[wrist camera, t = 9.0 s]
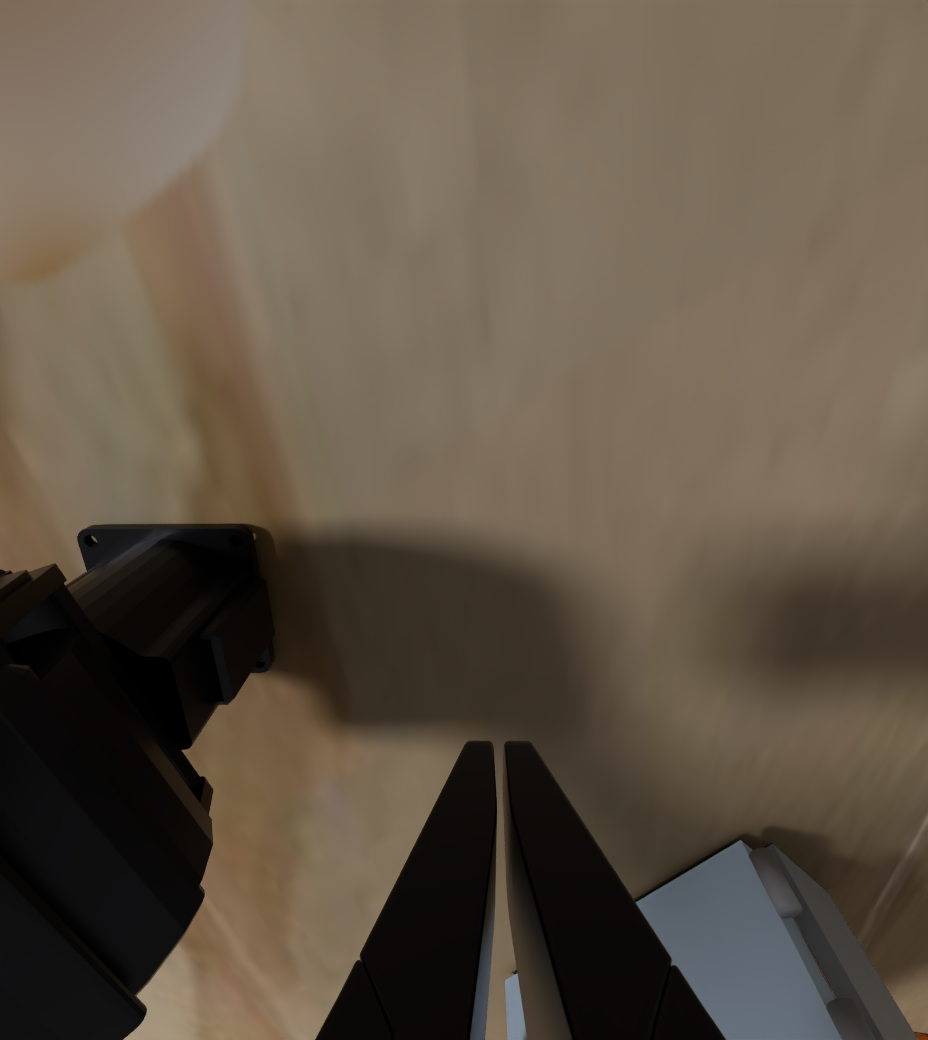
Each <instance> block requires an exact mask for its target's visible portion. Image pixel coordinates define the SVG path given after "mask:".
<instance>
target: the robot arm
mask: <svg viewBox="0 0 928 1040" xmlns="http://www.w3.org/2000/svg"><path fill="white" fill-rule="evenodd" d="M234 535H238V536H240V537H241V538H242V541H243V543H239V542H237V541H236V540H235V539H234ZM91 536H93V537H95V538H96V539H97V541H98V543H96V542H95V541H94V540H93V539H92V537H91ZM77 539H78V544H79V547H80V550H81V553H82V557H83V560H84V563H85V566H86V570H87V572H85V573H84V574H82V575H81V576H79V577H78V578H76V579H75V580H73V581H72V582H70V583H68V584H67V585H65V584H64V582H66V580H67V579H66V578H65V576H64V575H63V574H62V572H61V571H60V569H59V568H58V566H57V565H56V564H55V563H54V564H51V565H48V566H45V567H42V568H39V569H36V570H33V571H30V572H28V571H27V570H24V571H20V572H16V573H12V572H11V570H10V571H7V572H6V571H3V570H1V569H0V1040H123V1039H124V1038H125V1037H127V1036H128V1035H129V1034H130V1033H131V1032H133V1031H134V1030H135V1029H136V1028H137V1027H138V1026H139V1025H140V1024H141V1022H142V1021H143V1020H144V1017H145V1015H146V1012H147V1008H146V1006H145V1005H144V1004H143V1003H142V1002H141V1001H140V1000H139V999H138V998H137V995H138V993H139V992H140V991H141V990H142V989H143V988H144V987H145V986H146V985H147V984H148V983H149V982H150V980H151V979H152V978H153V976H154V975H155V974H156V972H157V971H158V970H159V968H160V967H161V966H162V964H163V963H164V962H165V960H166V959H167V958H168V956H169V955H170V954H171V952H172V951H173V950H174V948H175V947H176V946H177V944H178V943H179V942H180V940H181V939H182V938H183V936H184V935H185V933H186V931H187V929H188V928H189V926H190V924H191V922H192V921H193V919H194V917H195V915H196V914H197V912H198V910H199V908H200V906H201V904H202V902H203V899H204V896H205V892H204V889H203V888H202V886H201V885H200V883H201V881H202V879H203V875H204V872H205V869H206V865H207V862H208V859H209V856H210V852H211V849H212V846H213V835H212V819H211V818H210V816H209V811H210V806H211V800H212V795H213V788H212V787H211V785H210V784H209V782H208V781H207V779H206V778H205V777H204V776H202V777H200V776H199V775H198V773H197V772H196V770H195V769H194V768H193V766H192V765H191V763H190V762H189V760H188V759H187V758H186V756H185V755H184V753H183V752H182V751H181V750H185V749H189V748H190V747H191V746H192V744H193V743H194V741H195V740H196V738H197V737H198V735H199V734H200V732H201V731H202V729H203V728H204V726H205V725H206V723H207V722H208V720H209V719H210V717H211V716H212V714H213V712H214V711H215V709H216V708H217V706H218V705H228V704H229V703H230V702H231V701H232V700H233V699H234V698H235V697H236V695H237V694H238V692H239V690H240V689H241V687H242V686H243V684H244V682H245V681H246V679H247V678H248V676H249V674H250V673H262V672H266V671H268V670H269V668H270V667H271V665H272V663H273V662H274V653H273V647H272V641H271V639H272V638H273V636H274V634H275V631H274V625H273V619H272V614H271V608H270V602H269V596H268V590H267V584H266V581H265V580H264V579H263V578H262V577H261V576H260V572H259V567H258V561H257V555H256V549H255V544H254V538H253V535H252V532H251V531H250V530H249V529H248V528H247V527H245V526H243V525H92V526H89V527H87V528H85V529H83V530H82V531H81V532H79V534H78V536H77ZM259 658H261V659H263V660H264V662H261V661H259ZM503 809H504V834H505V859H506V883H507V899H508V909H509V918H510V926H511V932H512V939H513V946H514V953H515V960H516V967H517V974H518V980H519V987H520V994H521V1001H522V1008H523V1015H524V1022H525V1028H526V1035H527V1040H726V1038H725V1037H724V1036H723V1034H722V1033H721V1031H720V1030H719V1028H718V1027H717V1025H716V1024H715V1022H714V1021H713V1019H712V1018H711V1017H710V1015H709V1014H708V1012H707V1011H706V1009H705V1008H704V1006H703V1005H702V1003H701V1002H700V1000H699V999H698V997H697V996H696V994H695V993H694V991H693V990H692V988H691V987H690V985H689V983H688V982H687V980H686V979H685V977H684V976H683V974H682V973H681V971H680V970H679V968H678V967H677V966H676V965H672V958H671V956H670V955H669V953H668V952H667V950H666V949H665V947H664V946H663V944H662V942H661V941H660V939H659V938H658V936H657V935H656V933H655V932H654V930H653V929H652V927H651V926H650V924H649V922H648V921H647V919H646V918H645V916H644V915H643V913H642V912H641V910H640V909H639V907H638V906H637V904H636V903H635V901H634V899H633V898H632V896H631V895H630V893H629V892H628V890H627V889H626V887H625V886H624V884H623V883H622V881H621V879H620V878H619V876H618V875H617V873H616V872H615V870H614V869H613V867H612V866H611V864H610V863H609V861H608V859H607V858H606V856H605V855H604V853H603V852H602V850H601V849H600V847H599V846H598V844H597V843H596V841H595V840H594V838H593V836H592V835H591V833H590V832H589V830H588V829H587V827H586V826H585V824H584V823H583V821H582V820H581V818H580V816H579V815H578V813H577V812H576V810H575V809H574V807H573V806H572V804H571V803H570V801H569V800H568V798H567V797H566V795H565V793H564V792H563V790H562V789H561V787H560V786H559V784H558V783H557V781H556V780H555V778H554V777H553V775H552V773H551V772H550V770H549V769H548V767H547V766H546V764H545V763H544V761H543V760H542V758H541V757H540V755H539V754H538V752H537V750H536V749H535V747H534V746H533V745H532V743H530V742H529V741H507V742H505V744H504V751H503ZM496 832H497V797H496V781H495V764H494V747H493V744H492V742H491V741H468V742H467V743H466V744H465V745H464V747H463V749H462V751H461V753H460V755H459V757H458V759H457V761H456V763H455V765H454V767H453V769H452V771H451V773H450V775H449V777H448V779H447V781H446V783H445V785H444V787H443V789H442V791H441V793H440V795H439V797H438V799H437V801H436V803H435V805H434V807H433V809H432V811H431V813H430V815H429V817H428V819H427V821H426V823H425V825H424V827H423V829H422V831H421V833H420V835H419V837H418V839H417V841H416V843H415V845H414V847H413V849H412V851H411V853H410V855H409V857H408V859H407V861H406V863H405V865H404V867H403V869H402V871H401V873H400V875H399V877H398V879H397V881H396V883H395V885H394V887H393V889H392V891H391V893H390V895H389V897H388V899H387V901H386V903H385V905H384V907H383V909H382V911H381V913H380V915H379V917H378V919H377V921H376V923H375V925H374V927H373V929H372V931H371V933H370V935H369V937H368V939H367V941H366V943H365V945H364V947H363V949H362V951H361V953H360V960H358V961H356V962H355V964H354V966H353V968H352V970H351V972H350V974H349V976H348V978H347V980H346V982H345V984H344V986H343V988H342V990H341V992H340V994H339V996H338V998H337V1000H336V1002H335V1003H334V1005H333V1007H332V1009H331V1011H330V1013H329V1015H328V1017H327V1018H326V1020H325V1022H324V1024H323V1026H322V1028H321V1030H320V1032H319V1033H318V1035H317V1037H316V1039H315V1040H485V1031H486V1019H487V1006H488V993H489V981H490V968H491V955H492V943H493V930H494V915H495V882H496ZM671 965H672V966H671Z"/></svg>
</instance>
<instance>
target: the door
mask: <svg viewBox="0 0 928 1040" xmlns="http://www.w3.org/2000/svg"><path fill="white" fill-rule="evenodd" d="M636 904H637V906H638V907H639V909H640V910H641V912H642V913H643V915H644V916H645V918H646V919H647V921H648V922H649V924H650V926H651V927H652V929H653V930H654V932H655V933H656V935H657V936H658V938H659V939H660V941H661V942H662V944H663V946H664V947H665V949H666V950H667V952H668V953H669V955H670V956H671V958H672V965H676V966H677V967H678V968H679V970H680V971H681V973H682V974H683V976H684V977H685V979H686V980H687V982H688V983H689V985H690V987H691V988H692V990H693V991H694V993H695V994H696V996H697V997H698V999H699V1000H700V1002H701V1003H702V1005H703V1006H704V1008H705V1009H706V1011H707V1012H708V1014H709V1015H710V1017H711V1018H712V1019H713V1021H714V1022H715V1024H716V1025H717V1027H718V1028H719V1030H720V1031H721V1033H722V1034H723V1036H724V1037H725V1038H726V1040H876V1039H875V1038H874V1036H873V1034H872V1032H871V1030H870V1029H869V1027H868V1025H867V1023H866V1021H865V1020H864V1018H863V1016H862V1014H861V1012H860V1011H859V1009H858V1007H857V1005H856V1003H855V1002H854V1000H852V999H850V998H837V999H835V998H834V996H833V994H832V992H831V990H830V988H829V986H828V984H827V983H826V981H825V979H824V977H823V975H822V973H821V971H820V969H819V967H818V966H817V964H816V962H815V960H814V958H813V956H812V954H811V952H810V950H809V949H808V947H807V945H806V943H805V941H804V939H803V937H802V935H801V934H800V932H799V930H798V928H797V926H796V924H795V922H794V920H793V917H796V916H798V915H799V914H800V913H801V912H802V907H801V905H800V903H799V901H798V899H797V898H796V896H795V894H794V892H793V890H792V889H791V887H790V885H789V883H788V881H787V880H786V878H785V876H784V874H783V872H782V871H781V869H780V867H779V865H778V863H777V862H776V860H775V858H774V856H773V854H772V853H771V851H770V850H769V849H768V848H764V847H761V848H756V849H754V850H752V849H751V848H750V847H749V846H747V845H746V844H745V843H744V842H743V841H741V840H740V841H738V842H736V843H735V844H733V845H731V846H730V847H728V848H726V849H725V850H723V851H721V852H720V853H718V854H716V855H715V856H713V857H711V858H709V859H708V860H706V861H704V862H703V863H701V864H699V865H698V866H696V867H694V868H693V869H691V870H689V871H688V872H686V873H684V874H683V875H681V876H679V877H678V878H676V879H674V880H673V881H671V882H669V883H668V884H666V885H664V886H662V887H661V888H659V889H657V890H656V891H654V892H652V893H651V894H649V895H647V896H646V897H644V898H642V899H641V900H639V901H637V902H636ZM672 965H671V966H672ZM505 991H506V1012H507V1033H508V1040H527V1035H526V1028H525V1022H524V1015H523V1008H522V1001H521V994H520V987H519V980H518V974H517V973H516V974H515V975H513V976H511V977H510V978H508V979H506V980H505Z"/></svg>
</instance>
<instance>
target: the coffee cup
mask: <svg viewBox="0 0 928 1040" xmlns="http://www.w3.org/2000/svg"><path fill="white" fill-rule="evenodd" d="M915 1035H916V1037H917V1038H918V1040H928V1035H926V1034H921V1033H915Z"/></svg>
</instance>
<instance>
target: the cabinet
mask: <svg viewBox="0 0 928 1040" xmlns="http://www.w3.org/2000/svg"><path fill="white" fill-rule="evenodd" d="M766 848H768V849H769V850H770V851H771V853H772V854H773V856H774V858H775V860H776V862H777V863H778V865H779V867H780V869H781V871H782V872H783V874H784V876H785V878H786V880H787V881H788V883H789V885H790V887H791V889H792V890H793V892H794V894H795V896H796V898H797V899H798V901H799V903H800V905H801V907H802V912H801V913H800V914H799V915H798V916H796V917H793V920H794V922H795V924H796V926H797V928H798V930H799V932H800V934H801V935H802V937H805V939H806V941H807V942H808V944H809V946H810V948H811V950H812V952H813V954H814V956H815V957H816V959H817V961H818V963H819V965H820V967H821V969H822V971H823V972H824V974H825V976H826V978H827V980H828V982H829V984H830V985H831V987H832V989H833V991H834V993H835V995H836V997H837V998H850V999H852V1000H854V1002H855V1003H856V1005H857V1007H858V1009H859V1011H860V1012H861V1014H862V1016H863V1018H864V1020H865V1021H866V1023H867V1025H868V1027H869V1029H870V1030H871V1032H872V1034H873V1036H874V1038H875V1039H876V1040H918V1038H917V1037H916V1035H915V1033H914V1032H913V1030H912V1028H911V1027H910V1025H909V1024H908V1022H907V1020H906V1019H905V1017H904V1015H903V1014H902V1012H901V1011H900V1009H899V1007H898V1006H897V1004H896V1002H895V1001H894V999H893V998H892V996H891V994H890V993H889V991H888V989H887V988H886V986H885V985H884V983H883V981H882V980H881V978H880V976H879V975H878V973H877V972H876V970H875V968H874V967H873V965H872V963H871V962H870V960H869V959H868V957H867V955H866V954H865V952H864V951H863V949H862V947H861V946H860V944H859V942H858V941H857V939H856V938H855V936H854V934H853V933H852V931H851V929H850V928H849V926H848V925H847V923H846V921H845V920H844V918H843V916H842V915H841V913H840V912H839V910H838V908H837V907H836V905H835V903H834V902H833V900H832V899H831V897H830V895H829V894H828V892H827V891H826V890H825V889H824V888H822V887H821V886H820V885H819V884H818V883H817V882H816V881H814V880H813V879H812V878H811V877H810V876H809V875H808V874H807V873H805V872H804V871H803V870H802V869H801V868H800V867H799V866H797V865H796V864H795V863H794V862H793V861H792V860H791V859H790V858H788V857H787V856H786V855H785V854H784V853H783V852H782V851H781V850H779V849H778V848H777V847H776V846H775V845H774V844H771V845H769V846H768V847H766Z"/></svg>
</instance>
